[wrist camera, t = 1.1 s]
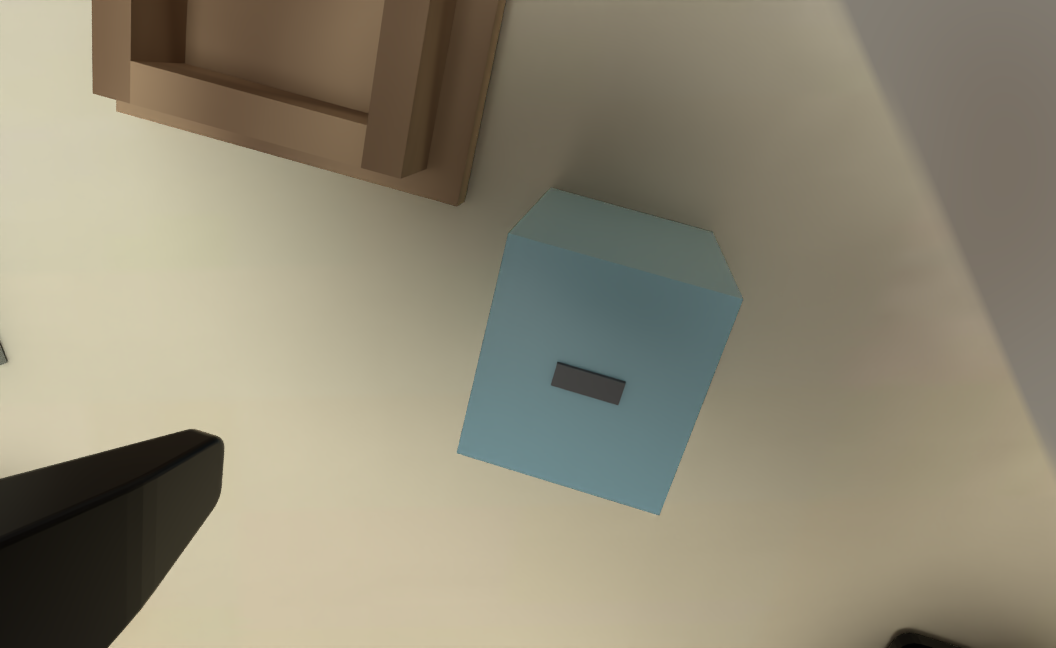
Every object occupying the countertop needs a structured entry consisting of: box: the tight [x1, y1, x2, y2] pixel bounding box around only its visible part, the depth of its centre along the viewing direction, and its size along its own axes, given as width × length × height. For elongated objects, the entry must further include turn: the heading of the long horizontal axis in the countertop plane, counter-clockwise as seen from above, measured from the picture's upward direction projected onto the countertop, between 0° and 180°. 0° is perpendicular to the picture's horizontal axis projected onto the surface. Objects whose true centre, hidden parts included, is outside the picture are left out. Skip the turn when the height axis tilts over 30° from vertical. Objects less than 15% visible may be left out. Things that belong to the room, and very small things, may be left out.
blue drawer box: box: [457, 188, 743, 515], centre depth 16 cm, size 4×5×6 cm
